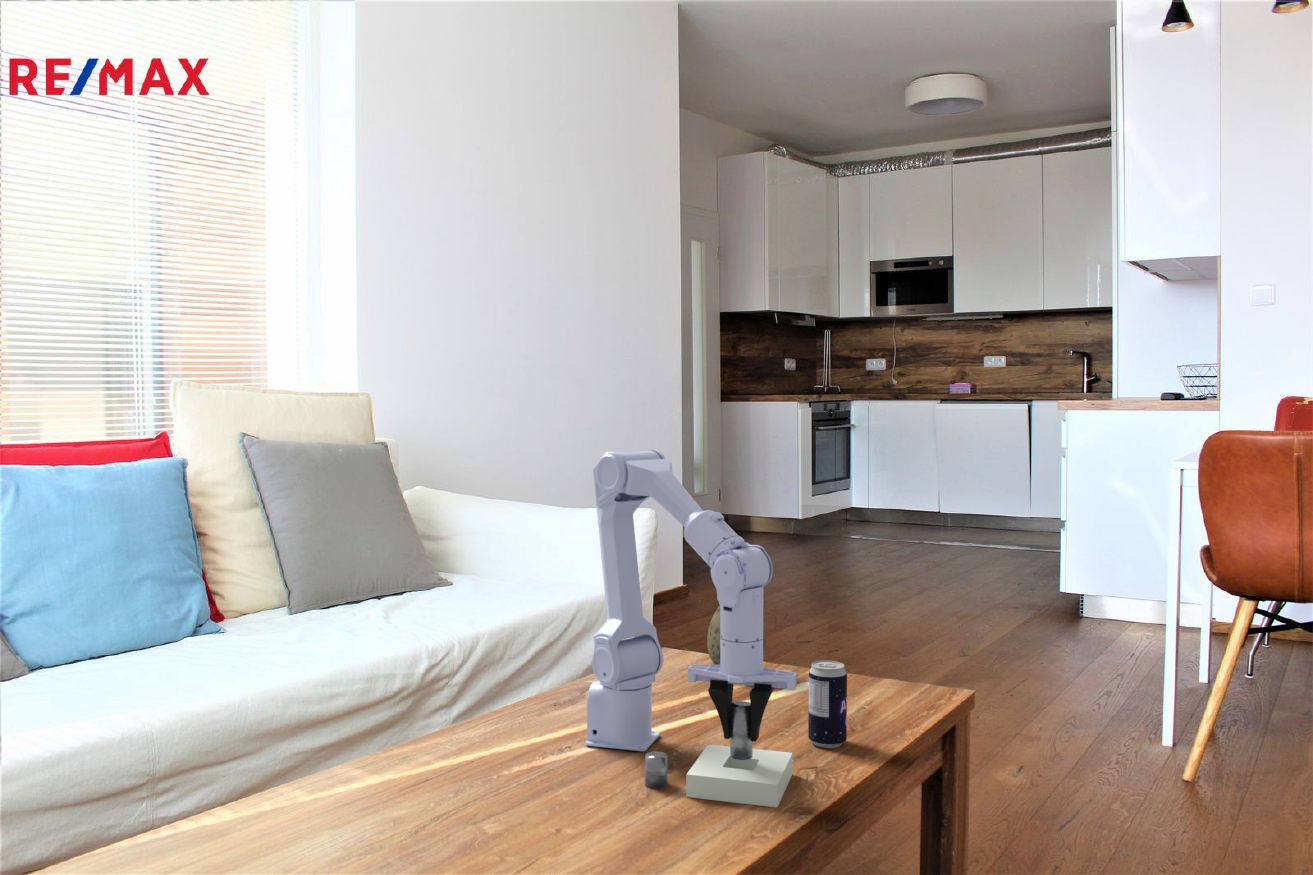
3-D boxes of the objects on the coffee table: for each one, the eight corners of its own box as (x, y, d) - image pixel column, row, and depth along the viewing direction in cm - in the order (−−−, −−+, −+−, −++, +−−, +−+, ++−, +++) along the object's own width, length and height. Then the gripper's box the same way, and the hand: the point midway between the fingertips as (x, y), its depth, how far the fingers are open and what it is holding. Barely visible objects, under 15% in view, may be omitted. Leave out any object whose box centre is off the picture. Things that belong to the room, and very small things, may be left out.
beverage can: (846, 751, 152) (846, 670, 151) (807, 748, 153) (807, 668, 153) (846, 738, 158) (847, 660, 157) (809, 736, 159) (809, 658, 158)
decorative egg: (715, 666, 199) (715, 589, 198) (770, 671, 195) (771, 592, 195) (700, 681, 189) (700, 599, 188) (757, 686, 185) (758, 603, 184)
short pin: (642, 787, 138) (642, 758, 138) (648, 779, 141) (648, 750, 141) (663, 790, 137) (663, 760, 137) (670, 781, 140) (670, 752, 140)
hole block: (686, 796, 135) (686, 774, 135) (708, 765, 146) (708, 744, 146) (777, 807, 131) (777, 784, 131) (792, 774, 143) (792, 752, 143)
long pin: (728, 758, 138) (728, 707, 137) (732, 751, 140) (732, 700, 140) (750, 760, 137) (750, 708, 136) (754, 753, 140) (754, 702, 139)
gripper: (681, 640, 136) (681, 742, 137) (790, 648, 132) (790, 753, 133) (694, 629, 143) (694, 725, 143) (799, 636, 139) (798, 735, 139)
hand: (741, 737), depth 138 cm, fingers closed on long pin, 3 cm apart
